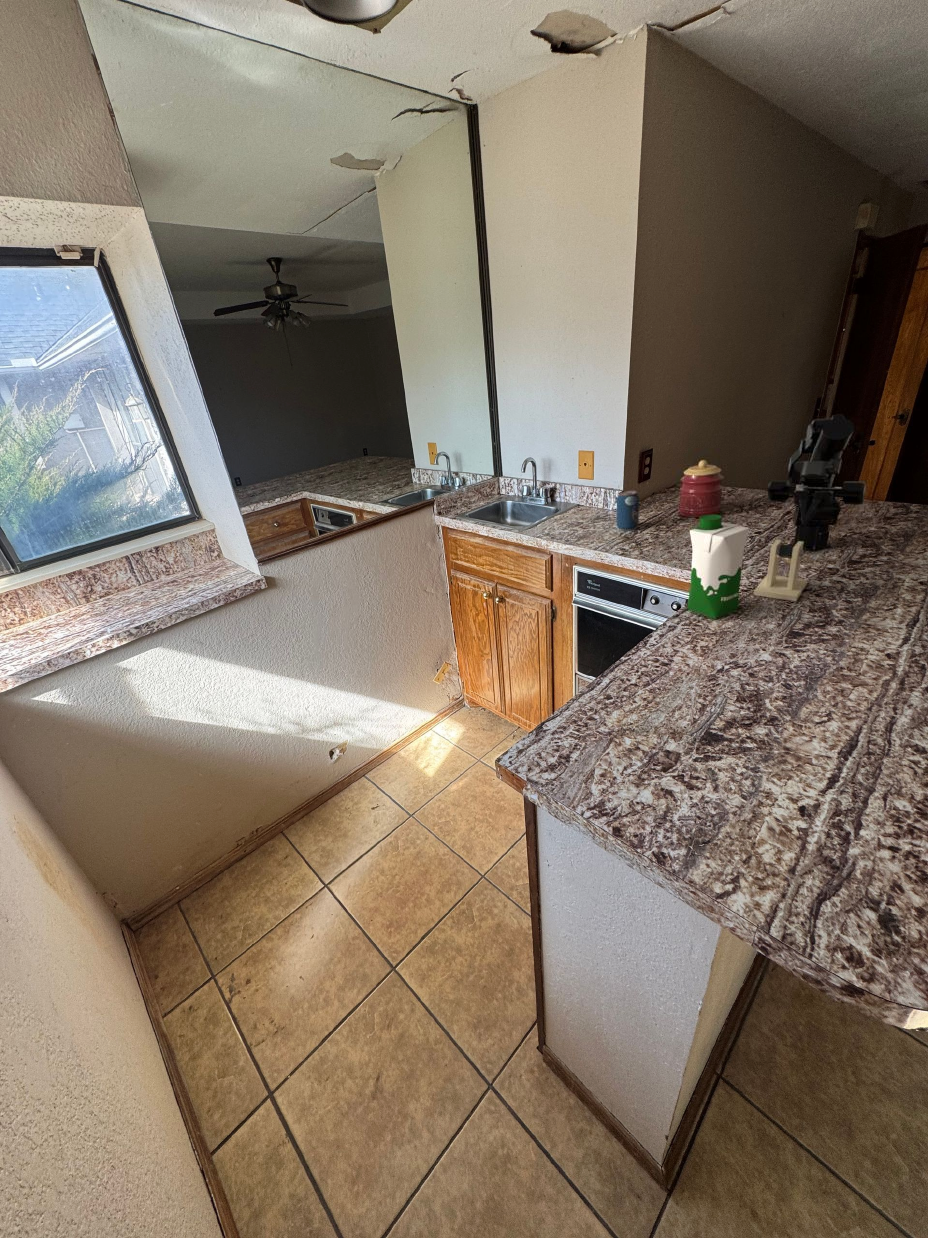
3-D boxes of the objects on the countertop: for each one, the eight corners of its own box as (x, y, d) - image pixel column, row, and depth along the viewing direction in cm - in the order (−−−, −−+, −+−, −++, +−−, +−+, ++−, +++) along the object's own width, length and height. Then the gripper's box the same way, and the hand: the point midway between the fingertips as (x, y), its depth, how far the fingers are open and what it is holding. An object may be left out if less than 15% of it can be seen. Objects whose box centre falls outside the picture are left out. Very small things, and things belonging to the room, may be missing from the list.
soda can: (638, 530, 158) (638, 494, 153) (616, 531, 160) (616, 495, 155) (638, 524, 163) (639, 489, 158) (617, 525, 166) (617, 490, 161)
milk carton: (708, 597, 108) (715, 510, 100) (745, 609, 101) (757, 516, 92) (680, 609, 105) (685, 520, 97) (717, 622, 98) (726, 528, 89)
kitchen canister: (727, 514, 159) (733, 460, 152) (687, 520, 160) (691, 465, 152) (710, 505, 171) (714, 454, 163) (673, 510, 172) (675, 460, 164)
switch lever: (782, 565, 112) (786, 550, 112) (800, 567, 110) (804, 552, 109) (773, 557, 103) (777, 541, 103) (793, 559, 101) (797, 542, 100)
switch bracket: (766, 579, 112) (772, 534, 108) (806, 584, 107) (815, 538, 102) (753, 595, 106) (759, 549, 101) (796, 601, 101) (804, 553, 96)
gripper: (774, 446, 115) (754, 504, 113) (874, 443, 102) (853, 508, 100) (779, 472, 123) (760, 526, 121) (872, 472, 110) (853, 533, 108)
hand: (803, 523), depth 112 cm, fingers closed
